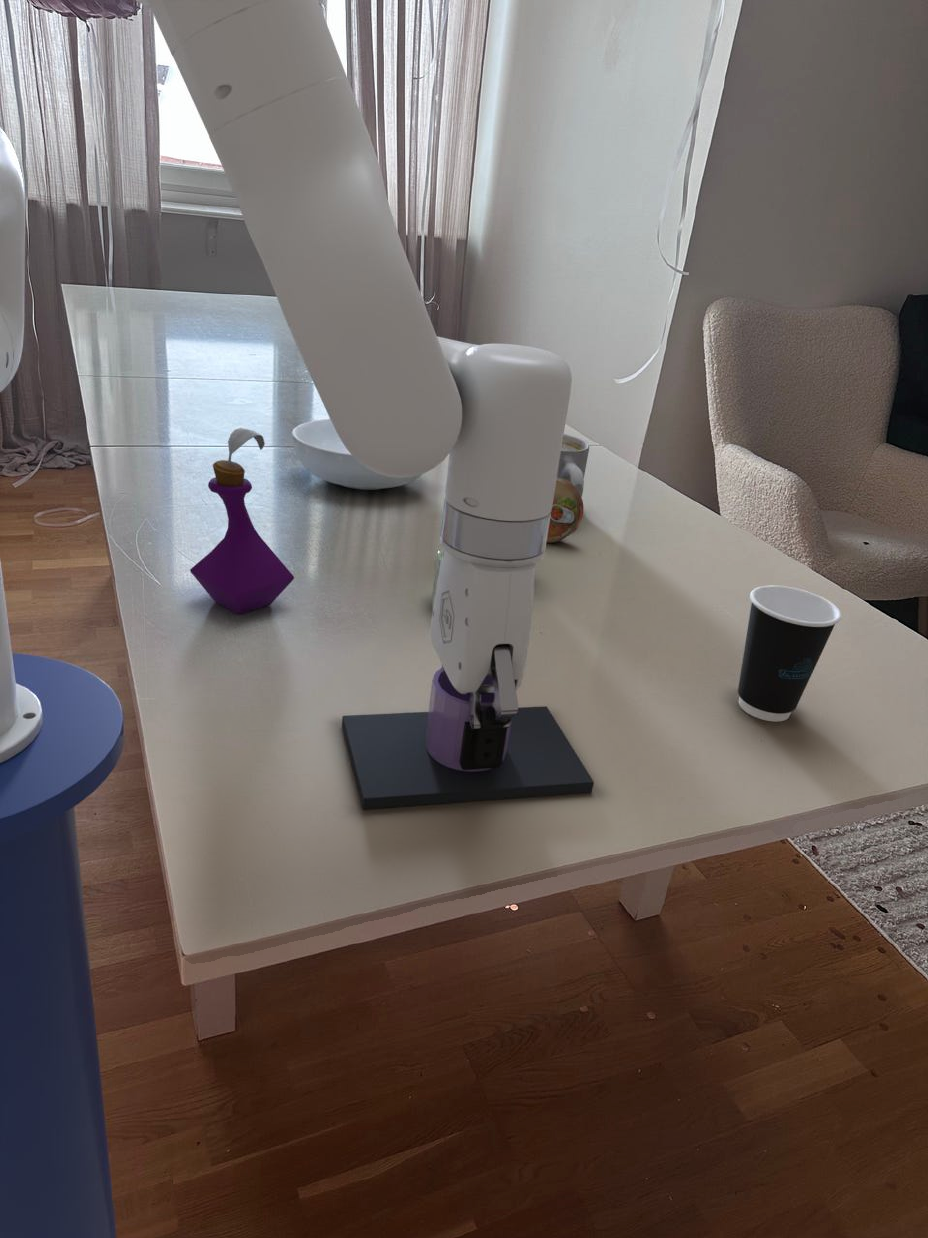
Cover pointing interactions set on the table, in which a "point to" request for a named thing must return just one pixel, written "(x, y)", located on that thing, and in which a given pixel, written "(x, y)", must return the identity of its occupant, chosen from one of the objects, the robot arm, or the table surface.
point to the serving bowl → (336, 459)
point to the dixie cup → (782, 648)
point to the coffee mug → (573, 461)
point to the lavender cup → (451, 721)
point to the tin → (564, 511)
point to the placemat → (409, 776)
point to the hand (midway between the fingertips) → (467, 737)
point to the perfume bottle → (240, 544)
